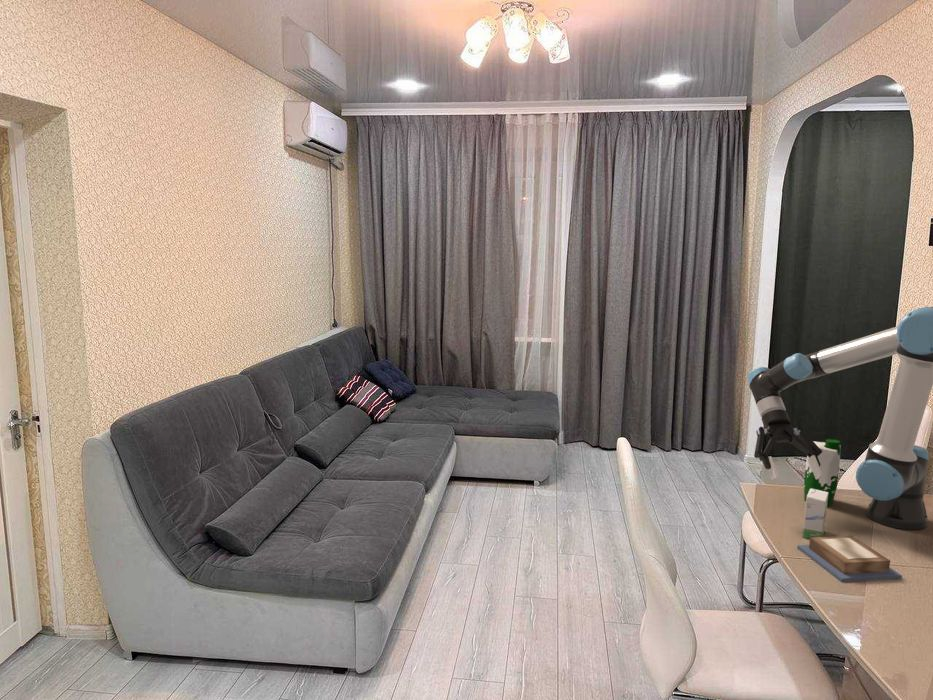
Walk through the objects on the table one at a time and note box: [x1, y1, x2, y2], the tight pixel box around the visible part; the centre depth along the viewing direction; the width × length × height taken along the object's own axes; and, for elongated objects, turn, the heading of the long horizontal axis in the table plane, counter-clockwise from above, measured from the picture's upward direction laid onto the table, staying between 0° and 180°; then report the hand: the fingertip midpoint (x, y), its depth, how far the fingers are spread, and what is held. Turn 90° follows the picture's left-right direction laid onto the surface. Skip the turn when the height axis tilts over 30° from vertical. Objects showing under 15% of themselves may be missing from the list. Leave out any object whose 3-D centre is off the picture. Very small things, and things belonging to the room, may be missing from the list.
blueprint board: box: [796, 544, 903, 583], centre depth 176 cm, size 16×18×1 cm
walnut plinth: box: [808, 535, 891, 574], centre depth 176 cm, size 12×14×3 cm
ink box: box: [802, 489, 828, 540], centre depth 192 cm, size 8×5×12 cm, turn 148°
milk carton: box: [803, 438, 842, 507], centre depth 216 cm, size 9×9×20 cm
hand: (797, 478), depth 200 cm, fingers open, 13 cm apart
